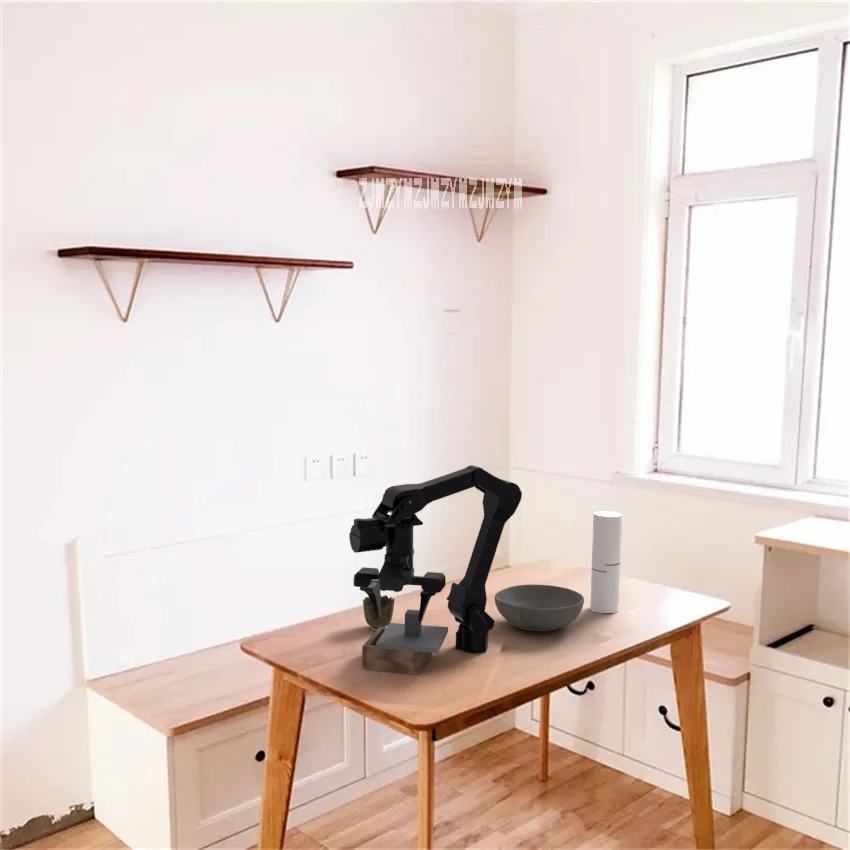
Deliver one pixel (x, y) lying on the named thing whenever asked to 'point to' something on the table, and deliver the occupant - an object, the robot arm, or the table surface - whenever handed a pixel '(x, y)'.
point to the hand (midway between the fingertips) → (399, 619)
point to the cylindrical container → (606, 561)
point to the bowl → (539, 606)
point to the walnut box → (392, 658)
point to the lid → (412, 635)
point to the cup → (385, 615)
